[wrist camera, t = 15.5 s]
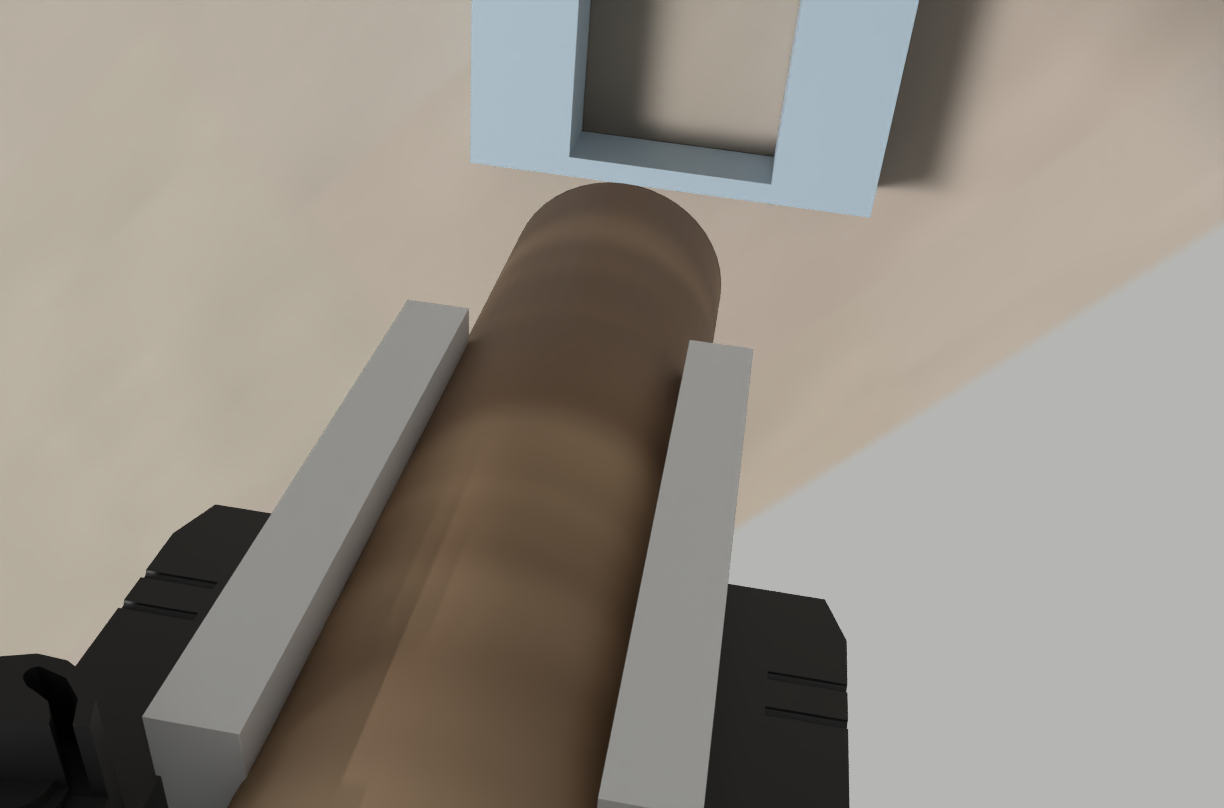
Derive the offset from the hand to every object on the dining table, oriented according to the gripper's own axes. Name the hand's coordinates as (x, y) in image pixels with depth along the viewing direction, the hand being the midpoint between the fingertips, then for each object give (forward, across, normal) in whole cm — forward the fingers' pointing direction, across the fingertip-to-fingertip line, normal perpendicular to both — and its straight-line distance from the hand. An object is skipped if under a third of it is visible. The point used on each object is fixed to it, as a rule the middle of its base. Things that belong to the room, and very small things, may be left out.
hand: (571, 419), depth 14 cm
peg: (+4, 0, 0) cm, 4 cm away
